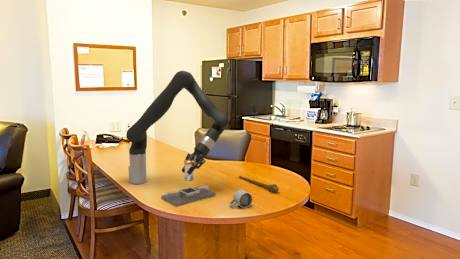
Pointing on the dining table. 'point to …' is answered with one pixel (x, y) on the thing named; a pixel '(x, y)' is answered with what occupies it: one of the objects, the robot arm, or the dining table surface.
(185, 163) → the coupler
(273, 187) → the torque wrench
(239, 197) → the ceramic mug
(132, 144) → the robot arm
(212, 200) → the dining table surface
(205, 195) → the coupling base
